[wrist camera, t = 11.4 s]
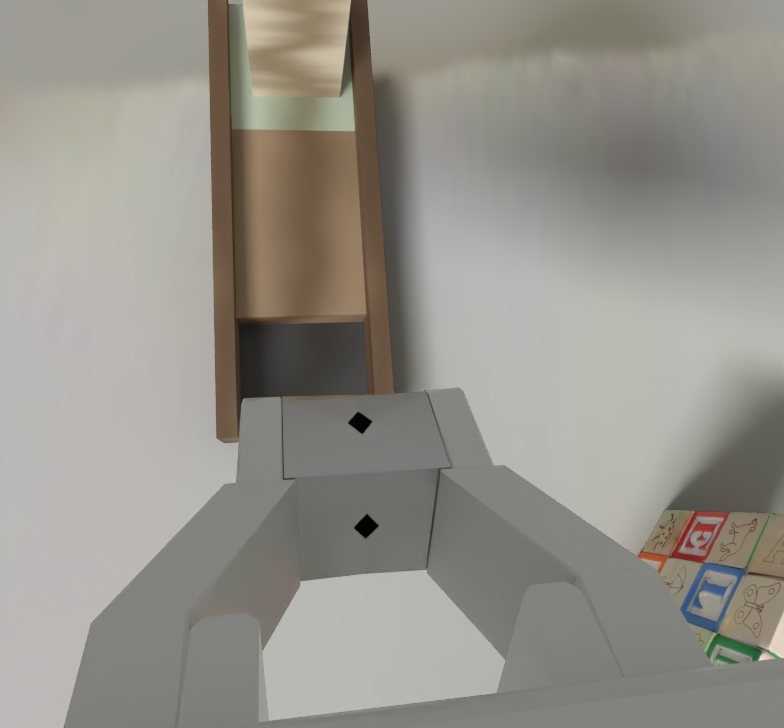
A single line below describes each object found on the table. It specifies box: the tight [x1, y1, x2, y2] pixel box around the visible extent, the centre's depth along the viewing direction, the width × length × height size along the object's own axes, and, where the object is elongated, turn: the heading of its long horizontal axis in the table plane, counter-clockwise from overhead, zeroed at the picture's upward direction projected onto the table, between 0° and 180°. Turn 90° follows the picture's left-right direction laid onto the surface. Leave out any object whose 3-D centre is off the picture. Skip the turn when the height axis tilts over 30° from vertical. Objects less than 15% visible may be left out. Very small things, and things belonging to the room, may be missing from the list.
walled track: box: [208, 0, 394, 443], centre depth 37 cm, size 9×26×4 cm, turn 4°
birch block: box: [242, 0, 351, 98], centre depth 34 cm, size 5×5×8 cm
